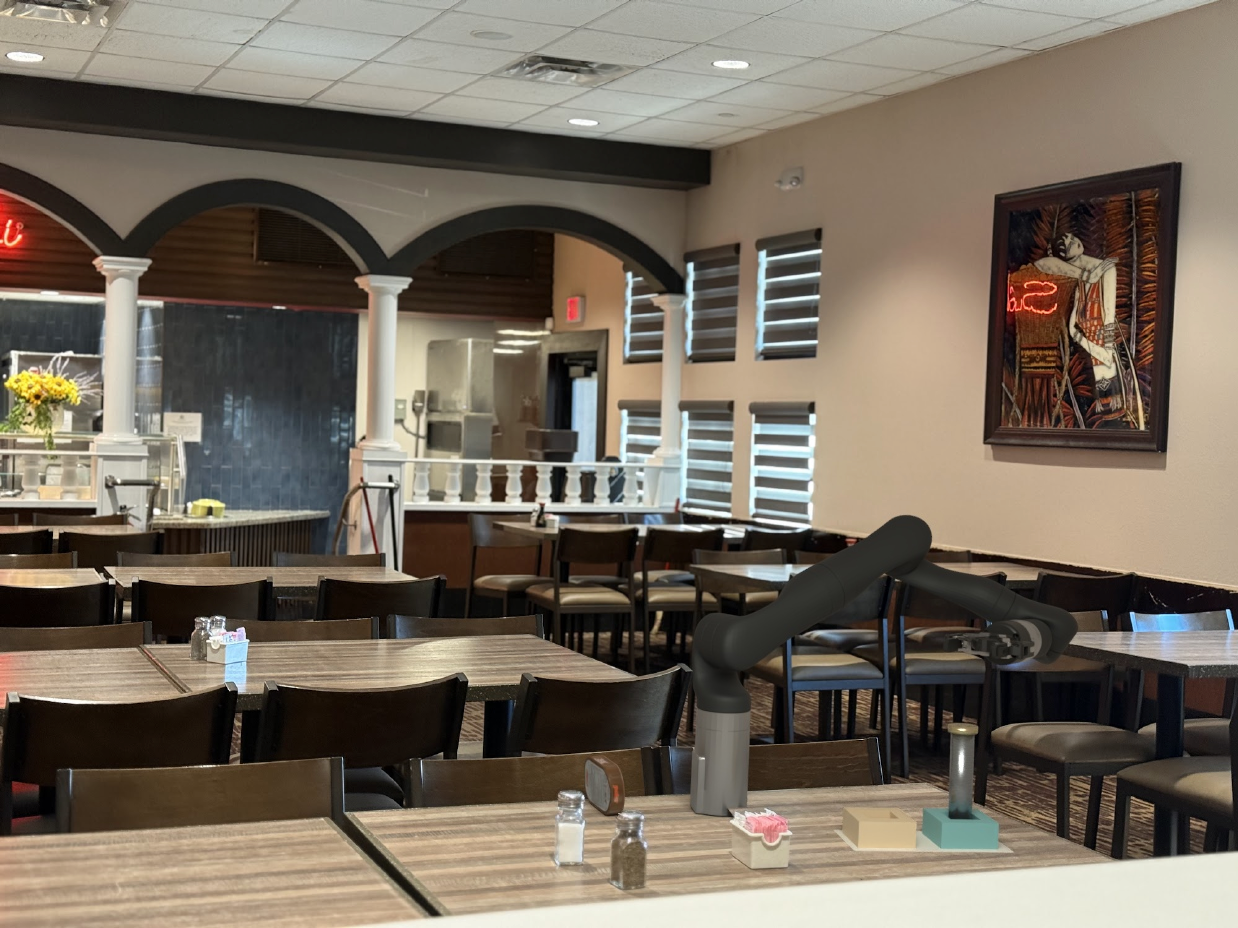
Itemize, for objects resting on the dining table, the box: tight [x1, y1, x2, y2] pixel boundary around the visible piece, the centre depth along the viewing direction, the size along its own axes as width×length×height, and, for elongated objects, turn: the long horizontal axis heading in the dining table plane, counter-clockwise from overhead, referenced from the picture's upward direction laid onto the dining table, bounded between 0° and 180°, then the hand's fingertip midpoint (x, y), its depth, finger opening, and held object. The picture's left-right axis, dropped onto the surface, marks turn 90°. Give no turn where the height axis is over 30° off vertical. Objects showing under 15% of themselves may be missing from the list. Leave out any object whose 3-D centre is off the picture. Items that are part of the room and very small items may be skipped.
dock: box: [833, 806, 1015, 854], centre depth 225 cm, size 25×12×6 cm, turn 96°
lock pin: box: [947, 722, 979, 820], centre depth 226 cm, size 5×5×18 cm
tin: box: [583, 754, 626, 816], centre depth 243 cm, size 15×3×8 cm, turn 19°
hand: (970, 648), depth 239 cm, fingers open, 8 cm apart
